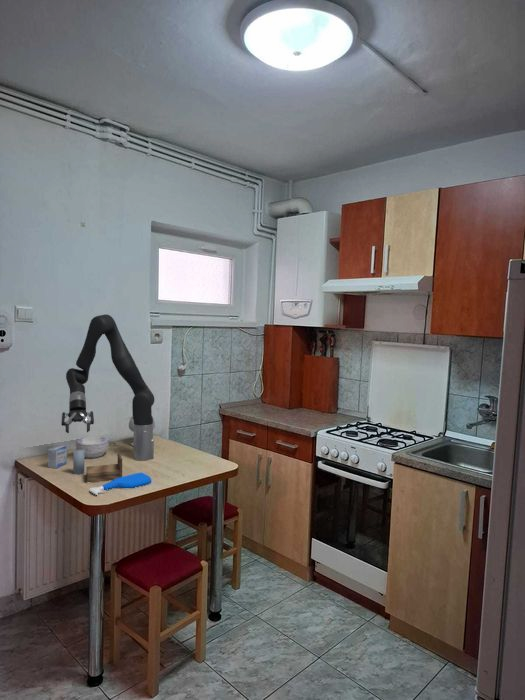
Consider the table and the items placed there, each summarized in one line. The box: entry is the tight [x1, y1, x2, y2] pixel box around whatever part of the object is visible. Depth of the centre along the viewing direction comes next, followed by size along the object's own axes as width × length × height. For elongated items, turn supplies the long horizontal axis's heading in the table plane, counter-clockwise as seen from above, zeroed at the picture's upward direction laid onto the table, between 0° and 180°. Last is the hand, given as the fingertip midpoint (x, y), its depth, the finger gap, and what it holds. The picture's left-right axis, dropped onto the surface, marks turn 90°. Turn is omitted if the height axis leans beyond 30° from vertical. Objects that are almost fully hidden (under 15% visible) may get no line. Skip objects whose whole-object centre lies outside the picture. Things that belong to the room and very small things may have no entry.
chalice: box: [128, 416, 156, 447], centre depth 260 cm, size 14×14×15 cm
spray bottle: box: [89, 472, 152, 496], centre depth 195 cm, size 3×11×24 cm
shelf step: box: [86, 452, 123, 483], centre depth 205 cm, size 14×10×9 cm
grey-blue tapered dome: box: [72, 449, 85, 475], centre depth 211 cm, size 5×5×10 cm
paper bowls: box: [75, 436, 110, 459], centre depth 237 cm, size 15×15×8 cm
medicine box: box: [47, 444, 68, 469], centre depth 220 cm, size 8×4×9 cm, turn 168°
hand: (77, 431), depth 221 cm, fingers open, 8 cm apart
